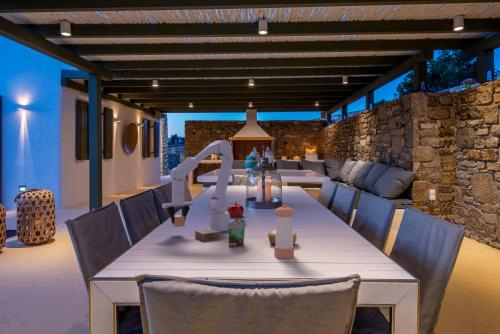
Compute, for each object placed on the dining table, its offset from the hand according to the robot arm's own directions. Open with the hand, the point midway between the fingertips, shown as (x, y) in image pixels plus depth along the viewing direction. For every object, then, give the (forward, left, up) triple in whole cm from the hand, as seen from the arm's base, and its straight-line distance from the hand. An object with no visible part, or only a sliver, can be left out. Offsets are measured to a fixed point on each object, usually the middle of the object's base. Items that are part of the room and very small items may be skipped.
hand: (178, 222), depth 179 cm
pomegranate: (-46, -31, -6) cm, 56 cm away
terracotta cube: (0, 0, -2) cm, 2 cm away
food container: (-16, +30, -6) cm, 34 cm away
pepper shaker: (-23, +53, -6) cm, 58 cm away
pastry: (-33, +37, -6) cm, 50 cm away
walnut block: (-9, +13, -6) cm, 17 cm away
